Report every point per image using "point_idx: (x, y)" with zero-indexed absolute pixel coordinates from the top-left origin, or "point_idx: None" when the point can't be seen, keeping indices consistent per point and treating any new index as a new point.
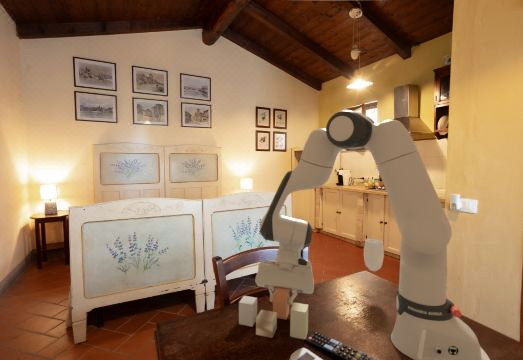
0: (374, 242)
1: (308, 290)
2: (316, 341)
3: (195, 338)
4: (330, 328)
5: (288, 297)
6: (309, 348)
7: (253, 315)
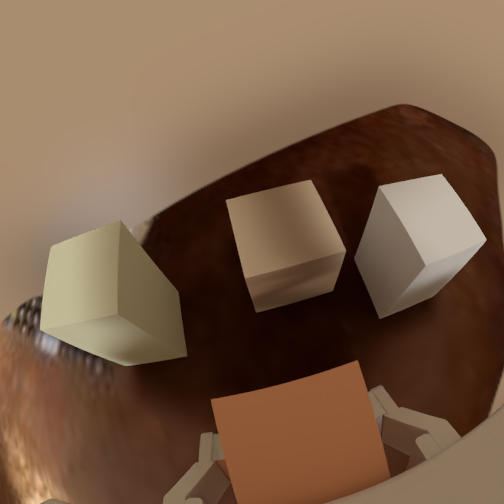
0: None
1: (61, 501)
2: None
3: (419, 143)
4: (64, 411)
5: None
6: None
7: (370, 246)
